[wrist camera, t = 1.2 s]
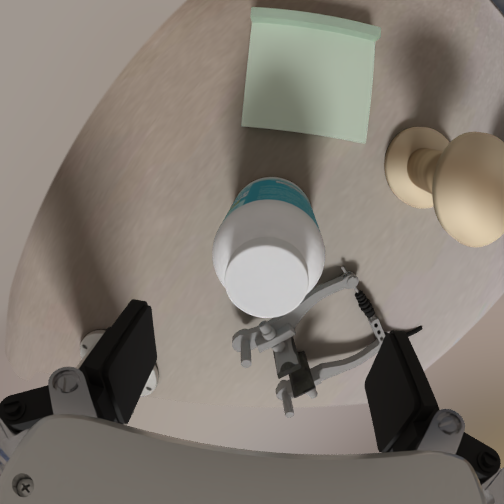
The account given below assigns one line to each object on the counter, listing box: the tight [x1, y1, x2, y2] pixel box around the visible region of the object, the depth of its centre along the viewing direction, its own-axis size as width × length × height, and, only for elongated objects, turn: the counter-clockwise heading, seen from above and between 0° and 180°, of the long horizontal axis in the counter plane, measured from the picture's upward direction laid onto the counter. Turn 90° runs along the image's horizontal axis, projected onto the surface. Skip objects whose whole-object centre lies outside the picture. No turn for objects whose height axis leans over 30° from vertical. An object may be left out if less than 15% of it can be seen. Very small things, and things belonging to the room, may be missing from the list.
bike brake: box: [232, 266, 422, 417], centre depth 31 cm, size 14×7×20 cm
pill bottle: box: [213, 177, 325, 318], centre depth 23 cm, size 8×7×14 cm
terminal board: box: [241, 7, 381, 144], centre depth 22 cm, size 11×11×3 cm
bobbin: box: [384, 127, 504, 247], centre depth 21 cm, size 8×8×11 cm
